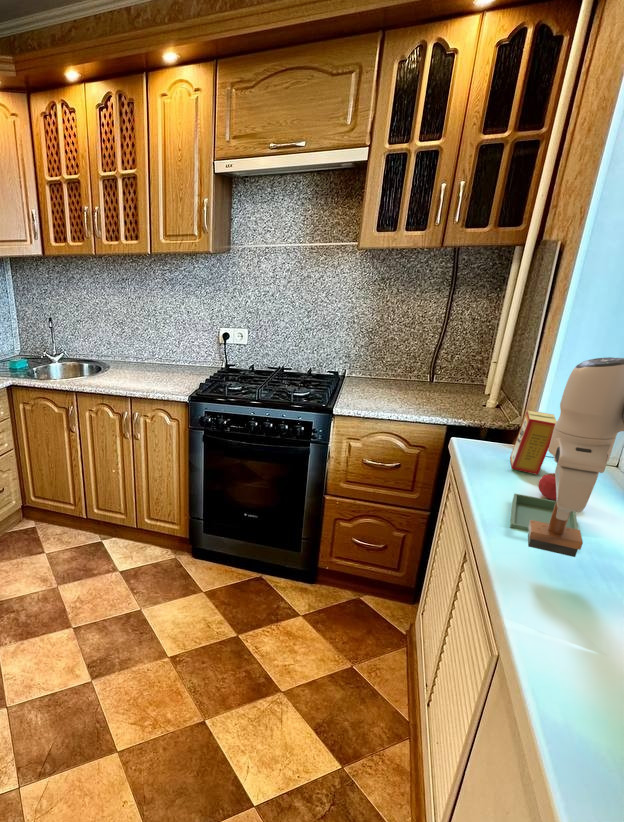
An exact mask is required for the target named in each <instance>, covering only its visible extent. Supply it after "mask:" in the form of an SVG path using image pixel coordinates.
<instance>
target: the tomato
mask: <svg viewBox="0 0 624 822" xmlns="http://www.w3.org/2000/svg"><path fill="white" fill-rule="evenodd" d="M537 488H538V490H539V492H540V494H541V495H542V496H543V497H545V498H546V499H548V500H552V501H556V500H557V497H556V479H555V472H551V473H545V474H544V475H543V476H542V477H541V478H540V479H539V480H538V486H537Z"/></svg>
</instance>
